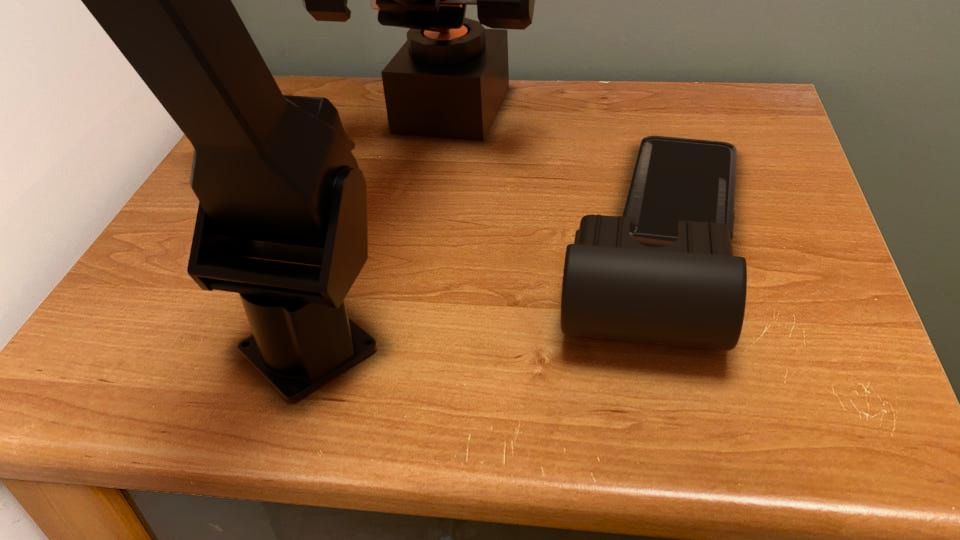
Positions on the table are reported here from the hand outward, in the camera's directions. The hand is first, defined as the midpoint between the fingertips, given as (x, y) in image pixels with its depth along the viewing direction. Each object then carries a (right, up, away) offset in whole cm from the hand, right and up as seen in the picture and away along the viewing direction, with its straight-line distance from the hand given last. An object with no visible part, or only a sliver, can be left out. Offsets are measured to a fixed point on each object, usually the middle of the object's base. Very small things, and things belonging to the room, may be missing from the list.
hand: (445, 27), depth 66 cm
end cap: (+13, -26, -20) cm, 35 cm away
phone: (+19, -16, -9) cm, 26 cm away
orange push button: (0, -2, +1) cm, 2 cm away
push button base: (0, -6, +5) cm, 8 cm away
